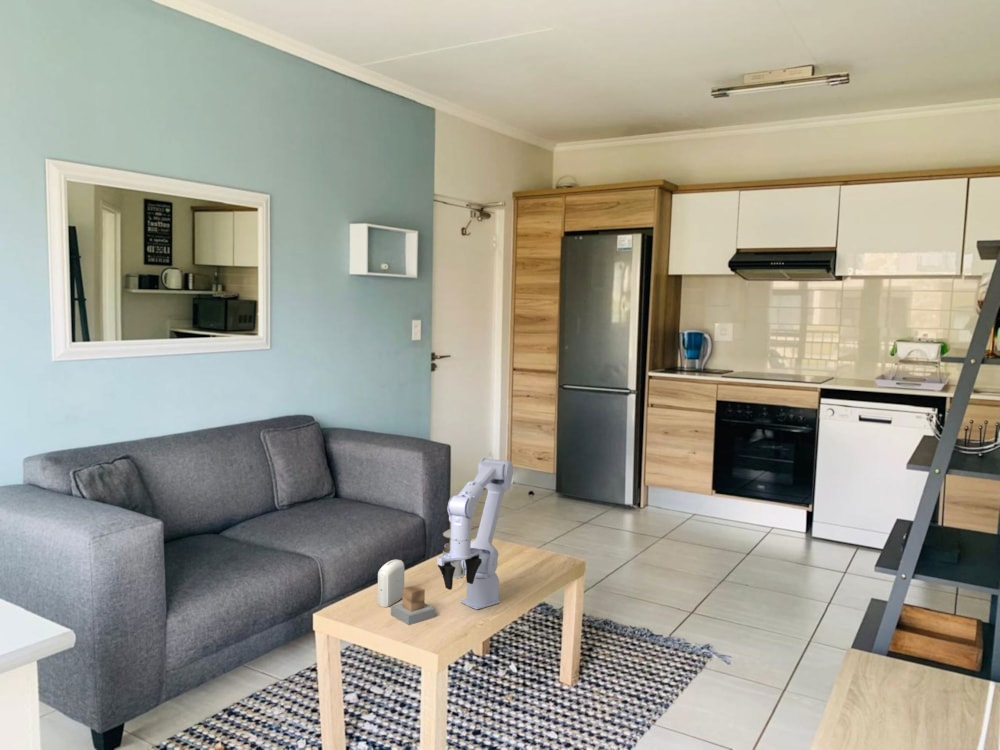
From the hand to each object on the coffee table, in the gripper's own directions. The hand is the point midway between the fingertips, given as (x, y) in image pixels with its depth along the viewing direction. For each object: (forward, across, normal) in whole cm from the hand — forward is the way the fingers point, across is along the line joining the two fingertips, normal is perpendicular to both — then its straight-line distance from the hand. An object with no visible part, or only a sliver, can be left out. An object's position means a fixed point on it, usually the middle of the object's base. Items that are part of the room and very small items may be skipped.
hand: (459, 585), depth 210 cm
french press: (+10, -22, -30) cm, 39 cm away
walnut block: (+7, +9, -10) cm, 15 cm away
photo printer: (+10, +8, -23) cm, 26 cm away
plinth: (+10, +9, -10) cm, 17 cm away
